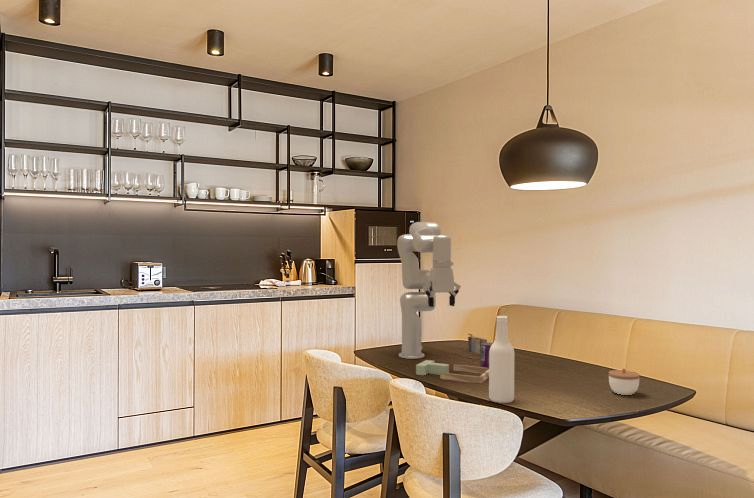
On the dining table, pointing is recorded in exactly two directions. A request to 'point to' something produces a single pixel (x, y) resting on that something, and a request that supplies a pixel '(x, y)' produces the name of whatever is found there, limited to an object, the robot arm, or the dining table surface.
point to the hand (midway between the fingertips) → (441, 306)
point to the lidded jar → (624, 381)
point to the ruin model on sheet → (475, 343)
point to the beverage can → (484, 354)
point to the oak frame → (467, 378)
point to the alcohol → (501, 365)
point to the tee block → (431, 368)
